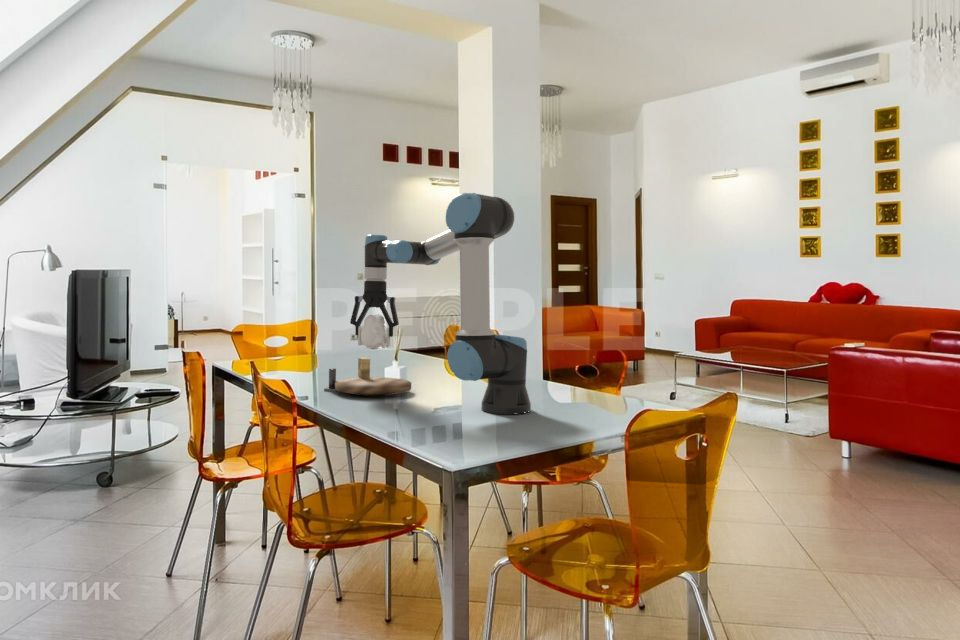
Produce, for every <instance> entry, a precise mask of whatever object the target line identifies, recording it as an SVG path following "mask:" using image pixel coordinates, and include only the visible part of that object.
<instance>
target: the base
mask: <svg viewBox="0 0 960 640" xmlns="http://www.w3.org/2000/svg"><path fill="white" fill-rule="evenodd" d="M336 381H337V368H329V369H328V386H327V387H324V388H323V391H324V392H338V391H337V390H336V389H335V382H336ZM363 395H365V396H364V397H381V396H389V394H379V395H369V394H358V395H357V396H363Z"/></svg>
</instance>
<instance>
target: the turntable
mask: <svg viewBox="0 0 960 640" xmlns="http://www.w3.org/2000/svg"><path fill="white" fill-rule="evenodd" d="M357 359H358V360H357V377H351V378H342V379H339V380H338V379H337V380H336V382H335V389H336V390H337V391H336V392H341V393H346V394H354V395H356V394H369V395H379V394H390V395H394V394H403V393H407V392H408V391H411V390H412V381H410V380H408V379H403V378H396V377H395V378H394V377H381V376H379V377H378V376H376V377H375V376H372V377H371V376H370V375H371V358H369V357H366V356H363V357H357Z"/></svg>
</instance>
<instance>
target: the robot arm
mask: <svg viewBox="0 0 960 640" xmlns="http://www.w3.org/2000/svg"><path fill="white" fill-rule="evenodd" d="M514 222H515V212H514V209H513V207H512V205H511V204H510V203H509V201H507V200H505V199H504V198H502V197H499V196H490V195H485V194H479V193H475V192H462V193H458V194H457V195H455V196H454V197H453V198H452V200H451V201H450V202H449V203H448V206H447V209H446V212H445V224H446V226H447V227H448V230H445V231H443V232H441V233H439V234H437V235H434V236H433V237H430V238H428V239H426V240H423V241H420V242H419V241H409V240H408V241H407V240H403V239H393V240H388V236H387V235H384V234H367V235H366V236H365V239H364V241H365V242H364V244H365V245H364V277H363V278H364V279H365V280H364V281H363V282H364V283H363V294H362V295H355V296H354V306H353V310H352V315H351V317H350V322H349V323H350V324H351V325H353V326H354V327H355V331H354V332H355V336H357V338H358V339H357V346H363V345H362V344H361V342H362V340H361V329H362V327H363V326H364V325H361V324H362V322H364V320H365V318H366V315H367V313H368V311H369V309H371V308H376V309H377V308H379V309H380V311H381V313H382V316H383V317H384V320H385V322H386V323H387V327H386V329H387V330H386V344H387V346H386V347H385V348H389V347H391V338H392V337H393V336H394V328H395V327H397V326H399V324H400V323H399V317H398V314H397V308H396V297H395V296H392V297H391V296H388V295H387V281H386V280H387V276H388V275H387V272H388V269H387V268H388V264H403V265H405V264H406V265H407V264H409V265H410V264H411V265H422V266H423V265H424V266H433V265H437V264H439V262H440V261H441V259H442V258H444V257H447V256H449V255H452V254H454V253H456V252H459V295H460V296H459V300H460V303H459V306H460V307H459V308H460V318H459V319H460V328H459V330H458V331H457V332H456V333H455V341H454V342H452V343H451V344H450V346H449V348H448V349H447V350H448V351H447V354H446V355H447V356H446V357H447V363H448V366H449V370H450V371H451V373H453V375H454V376H455V377H456V378H458V379H460V380H462V381H465V382H466V381H471V382H472V381H473V382H476V381H479V380H487V386H486V389H485V392H484V395H483V398H482V400H481V409H480V410H482V411H483V412H486V413H489V414H496V415H497V414H498V415H515V414H514V413H524V412H528V411H530V410H531V409H532V407H531V406H532V404H531V400H530V395H529V393H528V390H527V384H526V383H527V382H526V381H527V361H528V360H527V358H528V348H527V347H528V346H527V345H528V342H527V340H526V338H524V337H521V336H513V335H504V334H498V333H497V334H496V333H495V332H494V331H493V330H492V329H491V324H490V323H491V322H490V321H491V320H490V318H491V317H490V316H491V314H490V312H491V311H490V308H491V307H490V306H491V305H490V300H491V299H490V245H492V243H493V242H494V241H495V240H496V239H498V238H500V237H503V236H505V235H506V234H508V233H509V232H510V231H511V230H512V229H513V226H514ZM363 301H364V302H365V304H364V307H363V309H362V310H361V313H360V314H359V310H360V306H361V303H362V302H363ZM386 301H388V302H387V303H389V307H390V312H391V316H392V317H391V316H390V314H389V312H388V310H387V308H386V305H385V304H386ZM358 314H359V316H358ZM391 318H392V319H391ZM530 412H531V411H530ZM528 413H529V412H528ZM524 414H525V413H524Z"/></svg>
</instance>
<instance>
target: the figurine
mask: <svg viewBox="0 0 960 640" xmlns="http://www.w3.org/2000/svg"><path fill="white" fill-rule="evenodd" d="M385 324H386V320H385V317H384V315H382V314H380V313H378V314H377V313H371V314H369V315H367V316H365V318H364V320H363V325H362V326H363V327H362V329H361V340H362V342H361V344H362V345H361V346H364V347H366V348H368V349H373V350H374V349H379V348H380V347H381V348H382V349H386V348H387V347H386V346H387V344H386V330H387V327H386V325H385Z"/></svg>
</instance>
